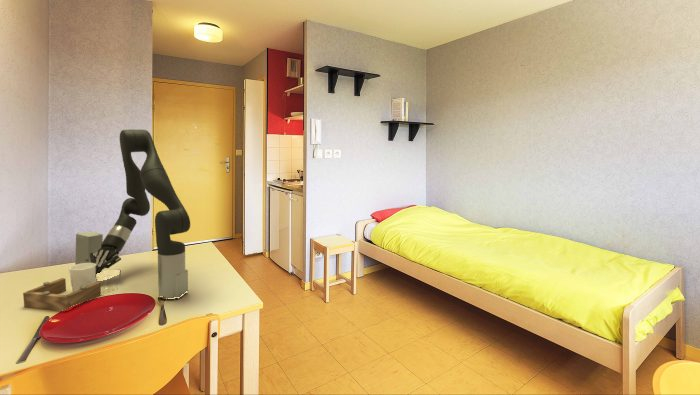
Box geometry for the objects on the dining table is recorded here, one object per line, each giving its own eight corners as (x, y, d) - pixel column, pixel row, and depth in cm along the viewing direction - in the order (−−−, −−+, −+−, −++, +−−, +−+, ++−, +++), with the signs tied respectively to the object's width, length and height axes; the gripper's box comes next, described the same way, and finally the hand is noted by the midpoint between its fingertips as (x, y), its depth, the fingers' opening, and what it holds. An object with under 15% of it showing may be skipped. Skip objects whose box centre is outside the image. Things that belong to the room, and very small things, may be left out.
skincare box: (74, 268, 151) (72, 233, 149) (91, 263, 157) (89, 230, 155) (88, 271, 148) (86, 236, 146) (104, 266, 155) (103, 232, 153)
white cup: (66, 292, 127) (64, 267, 126) (90, 285, 134) (89, 261, 133) (77, 297, 124) (75, 271, 122) (101, 290, 131) (100, 265, 129)
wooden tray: (101, 294, 127) (100, 280, 126) (66, 311, 113) (65, 295, 113) (62, 290, 129) (61, 276, 128) (24, 306, 115) (22, 290, 114)
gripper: (96, 232, 141) (71, 271, 130) (126, 235, 139) (102, 274, 129) (108, 241, 146) (84, 278, 136) (136, 244, 145) (114, 282, 135)
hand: (93, 276), depth 132 cm, fingers closed
